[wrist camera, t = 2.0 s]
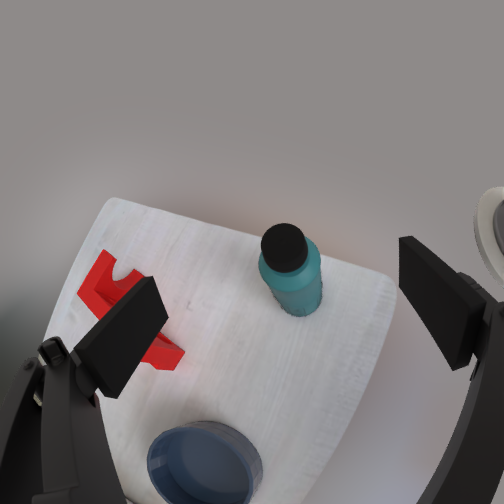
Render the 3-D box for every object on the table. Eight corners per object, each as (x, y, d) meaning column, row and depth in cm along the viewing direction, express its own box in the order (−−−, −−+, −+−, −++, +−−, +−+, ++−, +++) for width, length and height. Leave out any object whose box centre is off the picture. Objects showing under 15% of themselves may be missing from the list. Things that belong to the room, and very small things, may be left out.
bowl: (276, 440, 33) (268, 451, 27) (246, 517, 27) (235, 533, 22) (178, 406, 38) (159, 409, 33) (158, 480, 32) (139, 489, 27)
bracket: (73, 298, 39) (103, 248, 41) (110, 313, 48) (136, 270, 50) (136, 367, 31) (174, 305, 34) (173, 370, 41) (205, 320, 43)
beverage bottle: (331, 294, 40) (338, 232, 22) (303, 329, 39) (287, 294, 21) (298, 270, 43) (279, 195, 25) (270, 302, 42) (229, 248, 24)
